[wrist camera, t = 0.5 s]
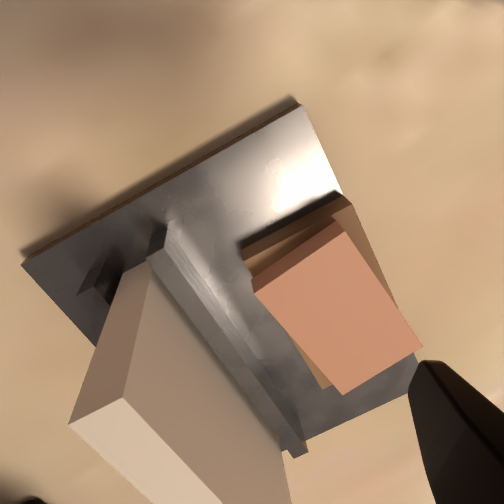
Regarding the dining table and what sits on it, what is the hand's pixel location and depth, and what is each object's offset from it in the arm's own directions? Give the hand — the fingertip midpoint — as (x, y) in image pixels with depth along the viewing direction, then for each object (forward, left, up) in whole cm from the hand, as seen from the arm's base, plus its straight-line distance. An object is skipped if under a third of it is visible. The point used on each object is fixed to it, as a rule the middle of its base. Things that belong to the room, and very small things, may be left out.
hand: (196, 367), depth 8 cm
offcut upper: (+3, -9, -12) cm, 15 cm away
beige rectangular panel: (-5, -9, -13) cm, 17 cm away
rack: (-2, -9, -14) cm, 17 cm away
